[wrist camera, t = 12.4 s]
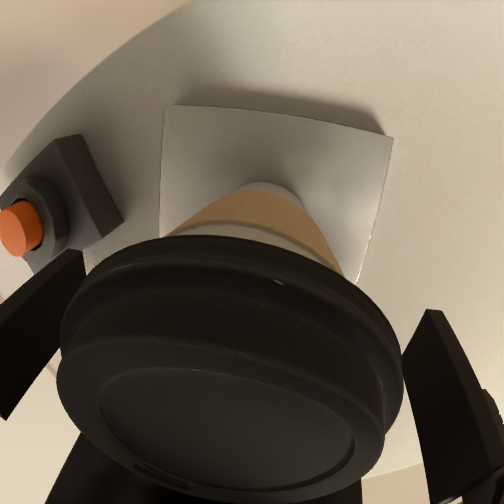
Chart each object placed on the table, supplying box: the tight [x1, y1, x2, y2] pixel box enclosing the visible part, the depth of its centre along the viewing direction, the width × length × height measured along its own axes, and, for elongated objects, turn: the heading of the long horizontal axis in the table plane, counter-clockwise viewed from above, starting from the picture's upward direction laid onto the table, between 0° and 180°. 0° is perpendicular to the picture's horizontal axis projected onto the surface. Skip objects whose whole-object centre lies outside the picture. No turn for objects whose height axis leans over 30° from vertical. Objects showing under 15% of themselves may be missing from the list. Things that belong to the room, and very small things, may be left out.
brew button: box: [0, 200, 44, 257], centre depth 17 cm, size 4×4×2 cm
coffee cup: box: [56, 182, 404, 504], centre depth 12 cm, size 9×9×15 cm
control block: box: [0, 134, 124, 275], centre depth 20 cm, size 10×8×5 cm
